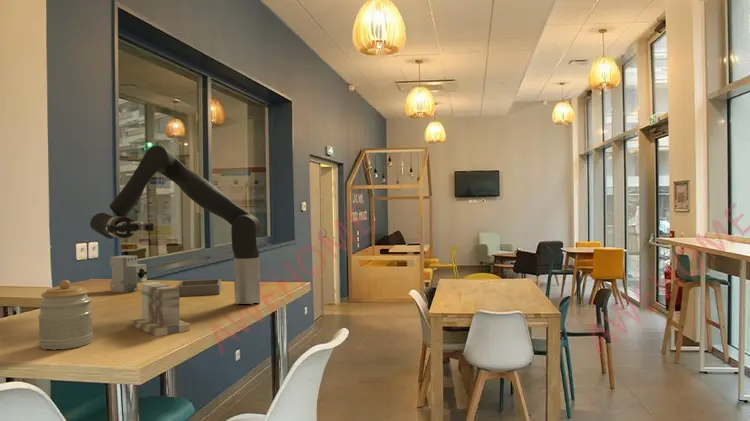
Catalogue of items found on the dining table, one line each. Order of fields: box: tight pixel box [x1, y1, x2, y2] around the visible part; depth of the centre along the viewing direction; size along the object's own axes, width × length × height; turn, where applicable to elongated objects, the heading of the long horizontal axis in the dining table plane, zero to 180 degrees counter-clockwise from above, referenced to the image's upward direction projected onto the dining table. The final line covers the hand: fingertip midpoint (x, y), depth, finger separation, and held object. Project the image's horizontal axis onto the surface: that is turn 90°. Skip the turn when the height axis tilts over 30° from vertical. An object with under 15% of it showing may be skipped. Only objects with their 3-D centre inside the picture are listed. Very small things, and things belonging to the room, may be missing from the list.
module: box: [140, 281, 163, 321], centre depth 174 cm, size 5×5×11 cm
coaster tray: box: [175, 278, 222, 297], centre depth 235 cm, size 17×17×4 cm
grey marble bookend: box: [130, 283, 191, 337], centre depth 170 cm, size 20×10×13 cm, turn 43°
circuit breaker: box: [109, 255, 148, 293], centre depth 241 cm, size 8×14×15 cm, turn 78°
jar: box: [37, 279, 94, 351], centre depth 151 cm, size 13×13×18 cm
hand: (137, 228), depth 182 cm, fingers open, 8 cm apart
